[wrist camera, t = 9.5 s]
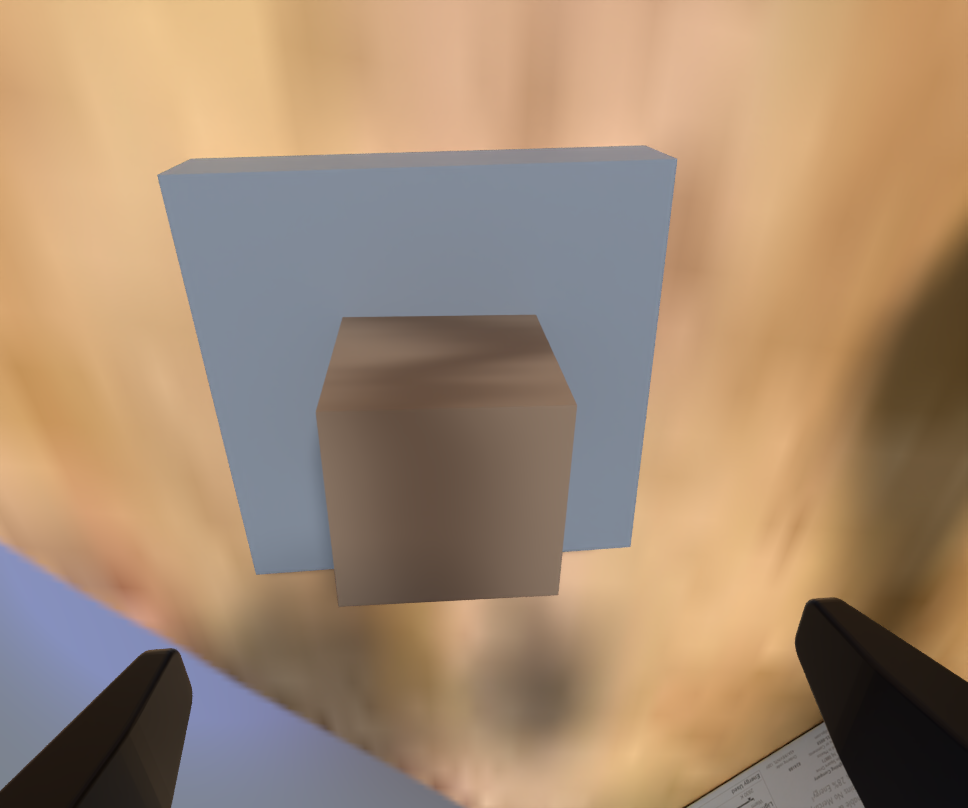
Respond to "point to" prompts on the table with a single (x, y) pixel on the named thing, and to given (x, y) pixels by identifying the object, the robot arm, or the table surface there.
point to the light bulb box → (790, 779)
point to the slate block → (419, 301)
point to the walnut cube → (445, 458)
